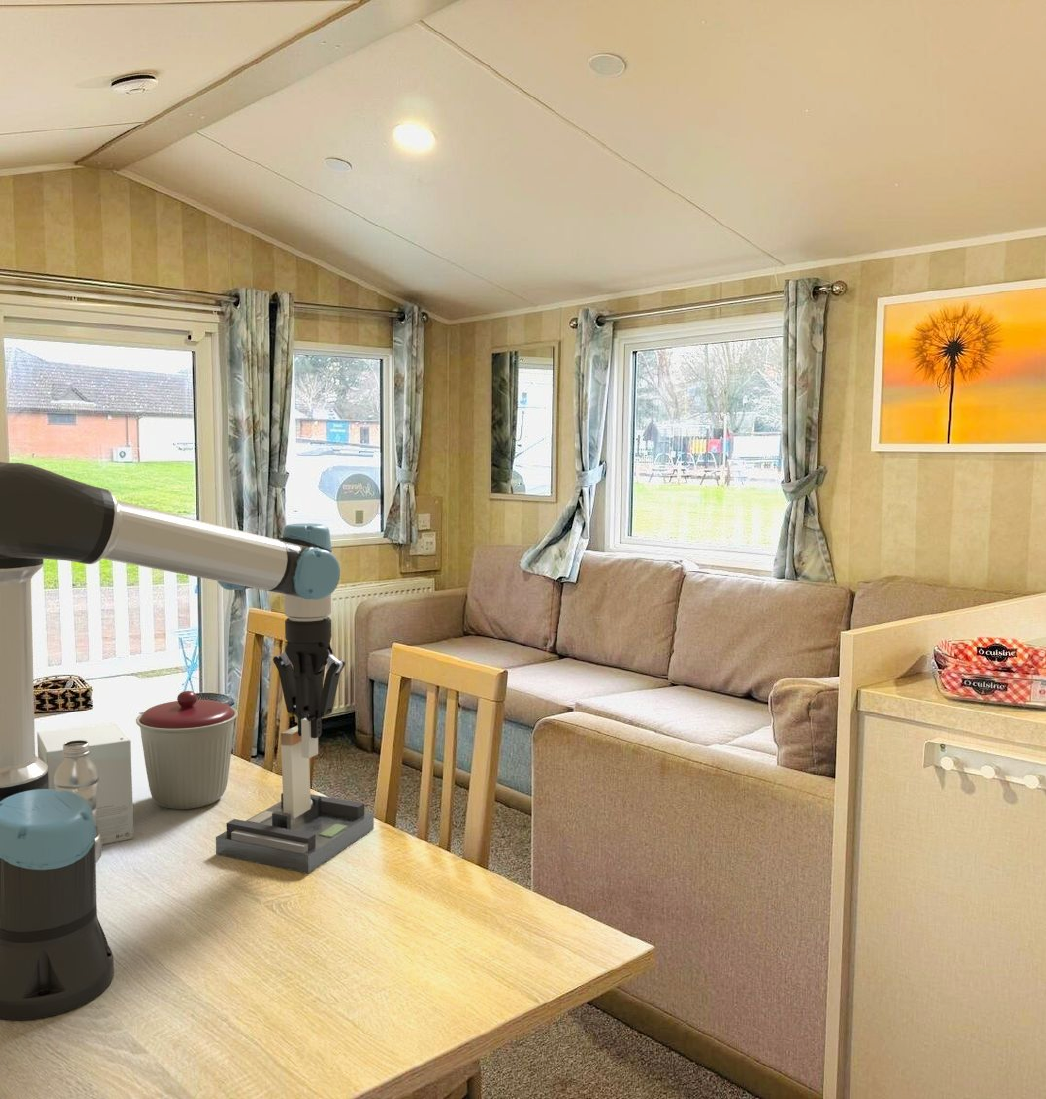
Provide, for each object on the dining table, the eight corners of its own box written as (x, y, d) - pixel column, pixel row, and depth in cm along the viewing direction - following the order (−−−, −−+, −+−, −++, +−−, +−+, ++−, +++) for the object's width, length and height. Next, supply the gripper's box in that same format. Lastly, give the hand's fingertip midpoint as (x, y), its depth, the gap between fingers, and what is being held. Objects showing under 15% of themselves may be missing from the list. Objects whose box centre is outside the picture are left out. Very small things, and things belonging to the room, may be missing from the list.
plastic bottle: (86, 875, 153) (81, 751, 150) (47, 871, 154) (43, 747, 152) (111, 859, 159) (107, 739, 157) (74, 854, 160) (70, 736, 158)
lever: (290, 822, 163) (287, 735, 161) (279, 821, 164) (276, 734, 162) (314, 808, 169) (312, 724, 168) (304, 806, 170) (301, 723, 169)
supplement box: (119, 814, 178) (117, 720, 176) (134, 839, 167) (132, 739, 165) (39, 828, 171) (35, 731, 169) (49, 855, 160) (45, 751, 158)
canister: (243, 810, 181) (241, 699, 178) (138, 823, 174) (135, 707, 172) (234, 779, 197) (232, 677, 195) (137, 789, 191) (135, 683, 188)
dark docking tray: (303, 853, 155) (303, 841, 155) (221, 837, 161) (221, 825, 160) (364, 814, 172) (364, 803, 171) (287, 800, 178) (287, 790, 177)
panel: (308, 873, 154) (308, 834, 154) (216, 854, 161) (215, 816, 160) (373, 828, 173) (373, 793, 172) (288, 813, 180) (288, 778, 179)
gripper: (354, 616, 163) (355, 754, 165) (289, 610, 168) (291, 744, 170) (328, 623, 156) (330, 767, 159) (261, 617, 161) (264, 756, 163)
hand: (310, 755), depth 164 cm, fingers closed
